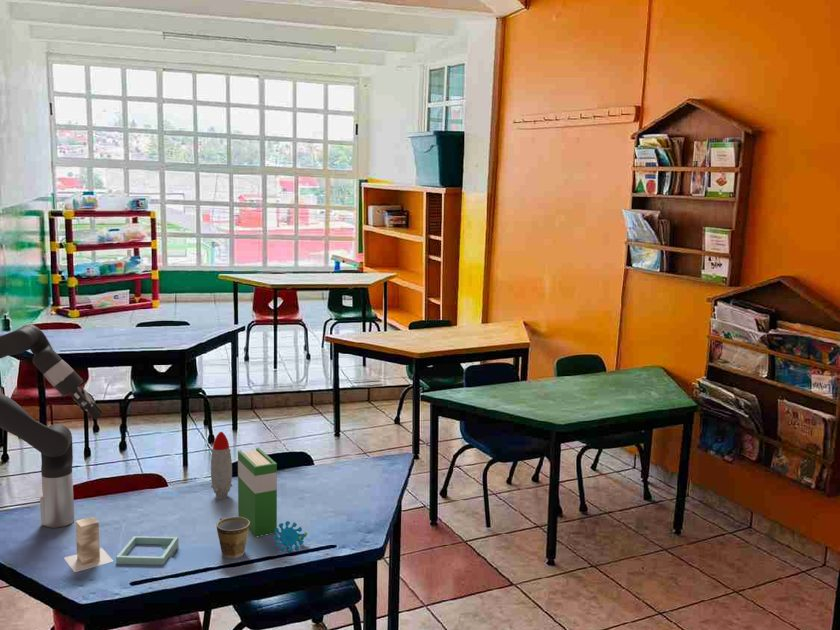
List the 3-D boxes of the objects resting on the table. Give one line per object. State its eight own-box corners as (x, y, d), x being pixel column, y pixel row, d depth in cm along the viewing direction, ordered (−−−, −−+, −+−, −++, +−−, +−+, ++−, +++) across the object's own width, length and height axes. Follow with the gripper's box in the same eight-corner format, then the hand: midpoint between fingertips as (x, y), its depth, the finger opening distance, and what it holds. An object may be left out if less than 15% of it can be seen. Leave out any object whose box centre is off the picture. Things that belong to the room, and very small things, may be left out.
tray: (116, 568, 219) (115, 557, 219) (134, 546, 233) (133, 535, 232) (163, 569, 219) (163, 558, 219) (178, 547, 233) (178, 537, 233)
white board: (74, 577, 213) (74, 572, 213) (63, 562, 221) (63, 557, 221) (113, 565, 220) (113, 561, 220) (101, 552, 229) (101, 547, 228)
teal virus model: (275, 551, 229) (273, 520, 235) (270, 558, 233) (268, 527, 239) (309, 550, 234) (306, 519, 240) (304, 556, 238) (301, 526, 244)
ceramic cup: (256, 554, 230) (255, 524, 229) (227, 564, 223) (227, 533, 222) (234, 540, 239) (234, 510, 238) (206, 549, 232) (205, 519, 231)
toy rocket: (224, 490, 279) (223, 426, 275) (236, 497, 274) (235, 432, 270) (206, 495, 274) (205, 430, 270) (218, 502, 268) (217, 436, 264)
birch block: (82, 565, 217) (80, 526, 215) (77, 558, 221) (75, 520, 219) (100, 560, 220) (98, 522, 219) (94, 553, 224) (93, 516, 222)
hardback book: (238, 517, 257) (237, 450, 253) (258, 512, 260) (258, 447, 257) (255, 537, 242) (254, 467, 238) (276, 532, 246) (276, 463, 242)
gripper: (55, 384, 237) (91, 421, 240) (50, 387, 223) (88, 426, 227) (75, 368, 239) (110, 406, 242) (71, 371, 225) (108, 410, 229)
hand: (99, 416), depth 234 cm, fingers open, 8 cm apart
